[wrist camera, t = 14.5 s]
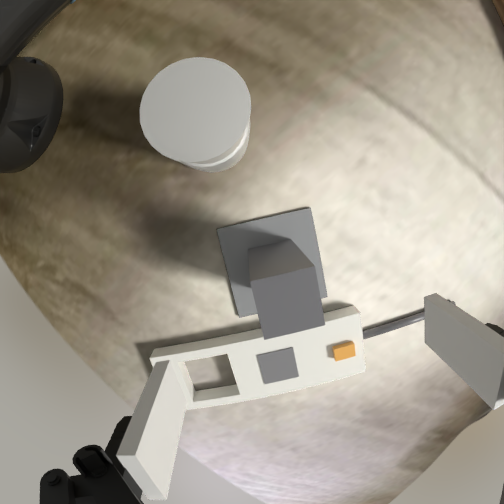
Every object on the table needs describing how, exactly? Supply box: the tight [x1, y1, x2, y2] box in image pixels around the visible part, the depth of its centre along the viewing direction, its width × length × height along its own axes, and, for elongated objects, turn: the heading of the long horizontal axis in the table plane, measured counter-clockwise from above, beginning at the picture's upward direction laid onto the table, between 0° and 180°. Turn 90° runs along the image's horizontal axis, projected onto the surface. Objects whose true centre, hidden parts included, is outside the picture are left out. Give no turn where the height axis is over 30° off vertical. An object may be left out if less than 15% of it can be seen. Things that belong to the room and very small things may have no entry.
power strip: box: [150, 301, 455, 410], centre depth 35 cm, size 38×8×3 cm, turn 103°
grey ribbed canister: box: [140, 57, 251, 173], centre depth 25 cm, size 7×7×15 cm
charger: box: [248, 239, 325, 340], centre depth 29 cm, size 5×5×12 cm
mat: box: [217, 208, 327, 318], centre depth 35 cm, size 10×10×1 cm
